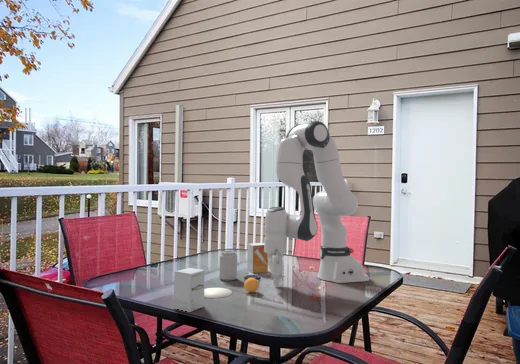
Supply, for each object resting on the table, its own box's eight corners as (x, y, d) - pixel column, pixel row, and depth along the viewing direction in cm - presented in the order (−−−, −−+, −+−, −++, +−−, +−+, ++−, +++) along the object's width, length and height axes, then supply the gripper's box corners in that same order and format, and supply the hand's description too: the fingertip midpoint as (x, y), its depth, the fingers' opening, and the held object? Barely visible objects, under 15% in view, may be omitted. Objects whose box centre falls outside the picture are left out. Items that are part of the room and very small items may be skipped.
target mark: (231, 287, 154) (231, 287, 154) (232, 297, 141) (232, 297, 141) (199, 288, 153) (199, 287, 153) (196, 298, 140) (196, 297, 140)
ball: (258, 290, 151) (258, 276, 151) (259, 294, 145) (259, 279, 145) (243, 290, 150) (244, 276, 150) (244, 294, 145) (244, 279, 145)
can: (234, 281, 164) (234, 253, 164) (217, 280, 165) (217, 252, 165) (238, 277, 171) (238, 250, 171) (222, 276, 172) (222, 249, 172)
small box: (252, 273, 178) (253, 245, 178) (247, 270, 184) (247, 243, 184) (268, 271, 182) (268, 244, 182) (262, 269, 188) (262, 242, 188)
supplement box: (189, 313, 124) (190, 274, 124) (173, 308, 128) (173, 271, 128) (204, 307, 130) (205, 269, 130) (188, 303, 134) (188, 266, 134)
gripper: (286, 252, 143) (286, 289, 143) (280, 243, 164) (279, 276, 164) (269, 252, 143) (269, 289, 143) (265, 243, 163) (264, 276, 163)
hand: (274, 282), depth 153 cm, fingers open, 8 cm apart
